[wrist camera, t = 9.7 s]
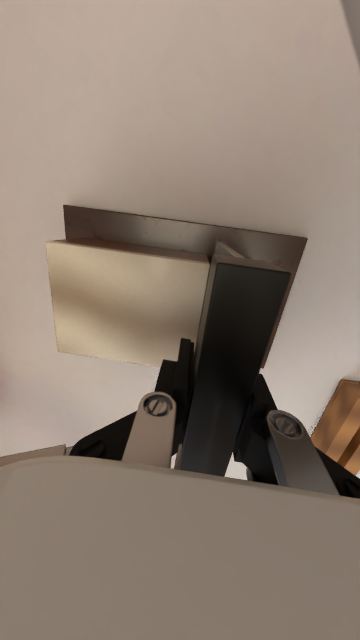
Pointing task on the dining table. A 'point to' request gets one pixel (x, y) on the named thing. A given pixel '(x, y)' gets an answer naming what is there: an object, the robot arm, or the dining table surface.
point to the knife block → (341, 427)
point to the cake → (144, 281)
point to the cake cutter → (228, 355)
